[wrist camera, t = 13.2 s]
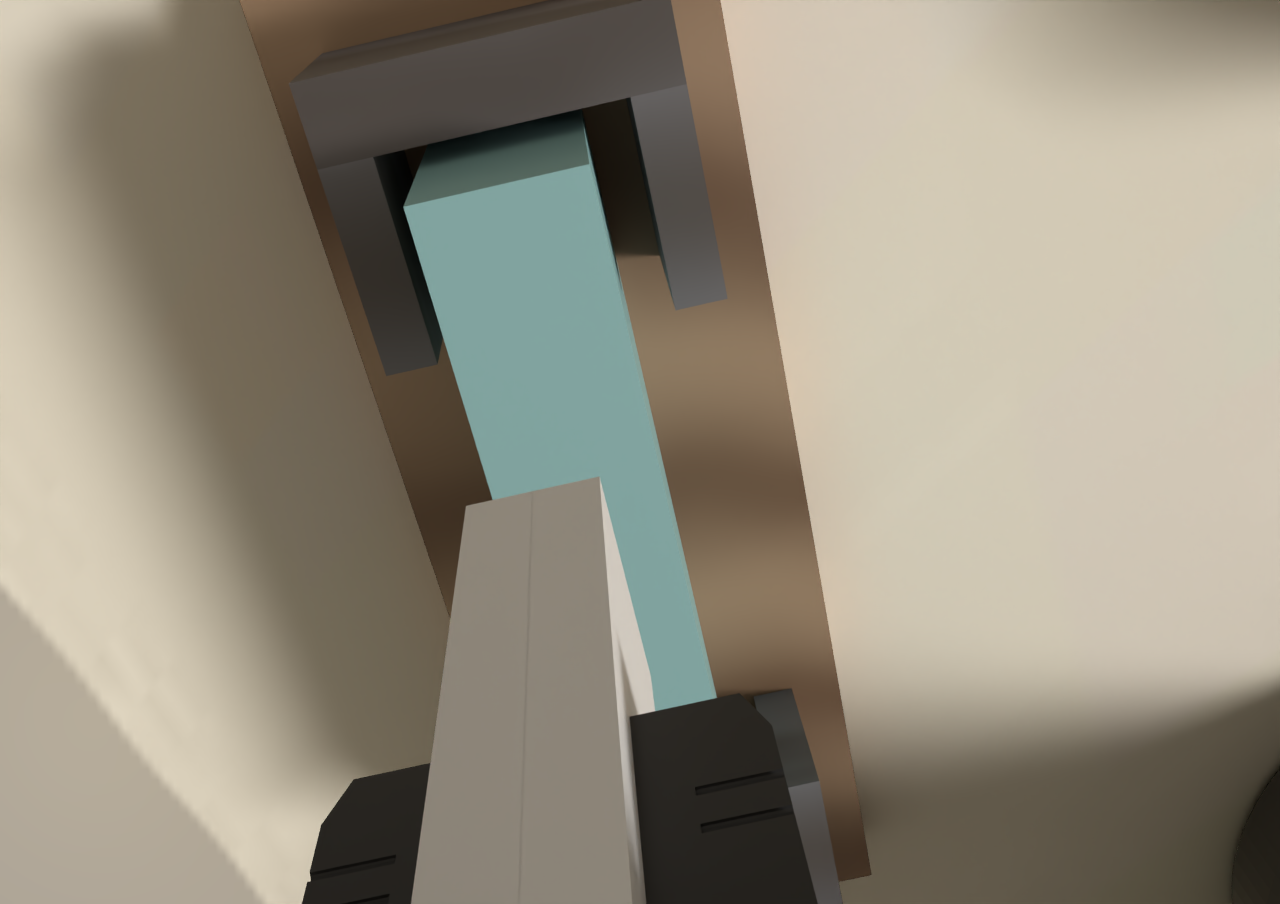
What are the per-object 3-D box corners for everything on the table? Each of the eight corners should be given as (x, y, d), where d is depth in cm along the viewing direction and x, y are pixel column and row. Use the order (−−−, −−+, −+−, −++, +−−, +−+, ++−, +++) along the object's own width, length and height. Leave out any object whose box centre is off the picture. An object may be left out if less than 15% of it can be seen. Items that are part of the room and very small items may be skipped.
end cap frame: (859, 836, 36) (904, 977, 31) (559, 900, 36) (562, 1048, 32) (690, -125, 24) (724, -120, 20) (251, -20, 25) (187, 8, 20)
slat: (734, 774, 32) (772, 957, 27) (624, 798, 33) (640, 985, 27) (578, 96, 25) (589, 163, 19) (433, 129, 25) (403, 207, 19)
